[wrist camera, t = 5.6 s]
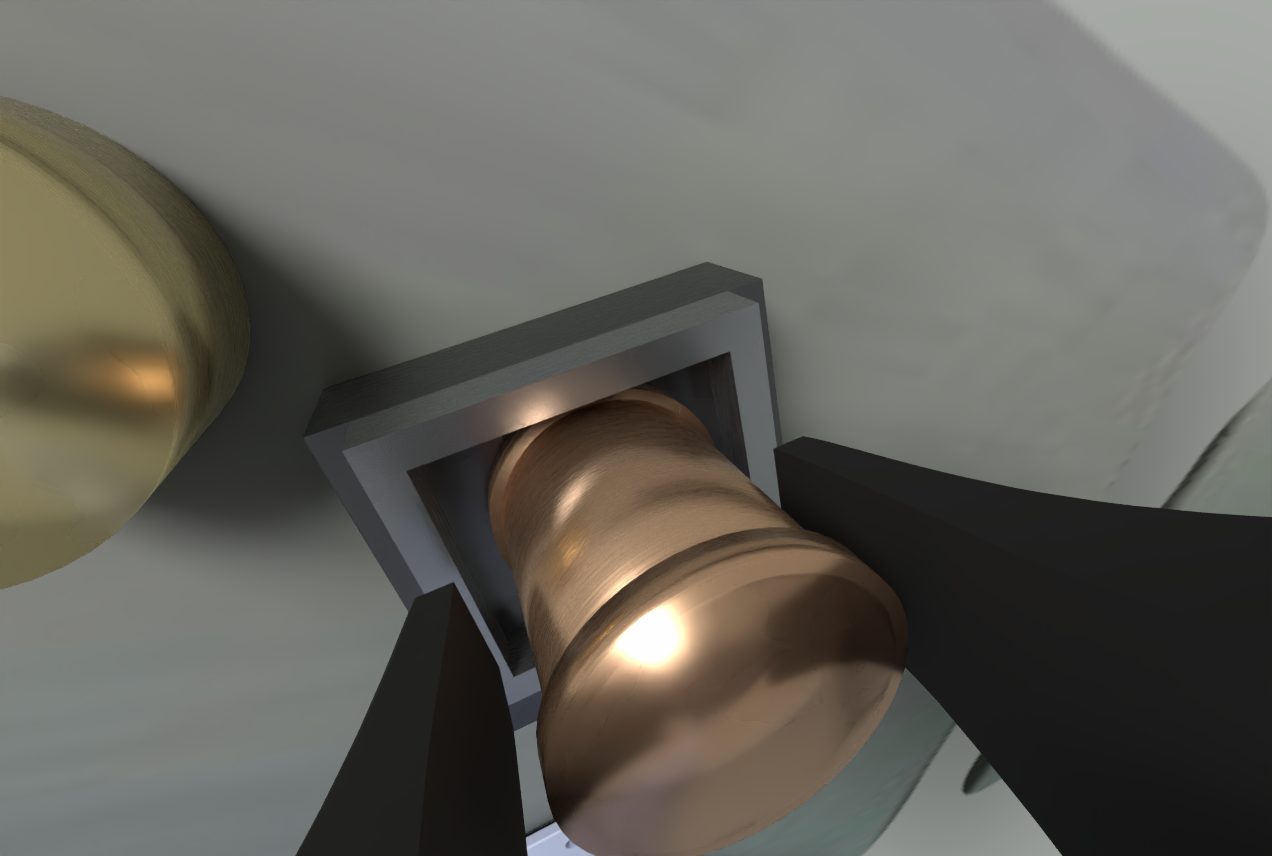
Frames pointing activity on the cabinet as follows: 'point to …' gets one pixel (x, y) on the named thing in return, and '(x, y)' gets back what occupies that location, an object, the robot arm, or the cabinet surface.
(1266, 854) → the robot arm
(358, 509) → the gray square open box
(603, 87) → the cabinet surface
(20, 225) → the gold short rounded piece
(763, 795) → the copper flared cylinder
